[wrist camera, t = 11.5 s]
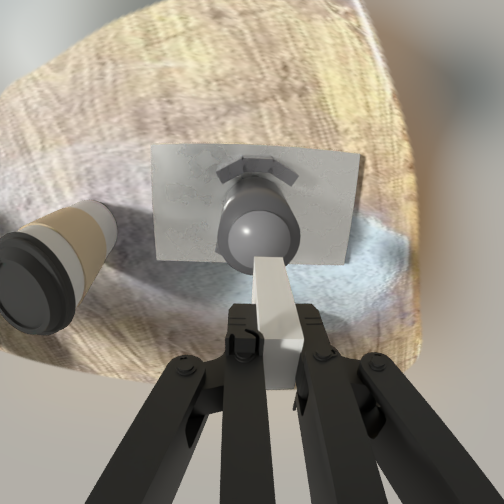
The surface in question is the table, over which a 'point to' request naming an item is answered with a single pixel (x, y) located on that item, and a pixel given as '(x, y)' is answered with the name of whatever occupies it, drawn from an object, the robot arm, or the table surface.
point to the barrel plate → (243, 166)
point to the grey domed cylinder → (256, 225)
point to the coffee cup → (53, 266)
